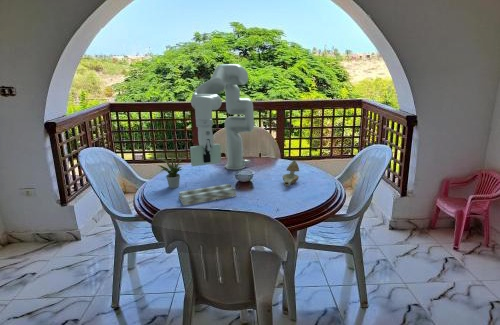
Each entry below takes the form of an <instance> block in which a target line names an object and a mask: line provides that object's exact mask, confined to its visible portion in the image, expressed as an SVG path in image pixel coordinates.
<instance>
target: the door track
mask: <svg viewBox="0 0 500 325" xmlns="http://www.w3.org/2000/svg"><path fill="white" fill-rule="evenodd" d="M232 196H234V197H237V193H236V187H232V184H231V183H225V184H219V185H212V186H207V187H200V188H195V189H188V190H181V191H179V192H178V199H179V200H180V202H181V204H182V205H183V206H187V205H194V204H199V203H205V202H210V201H216V199H217V200H221V199H227V197H228V198H233V197H232Z"/></svg>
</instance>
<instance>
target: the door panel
mask: <svg viewBox="0 0 500 325" xmlns="http://www.w3.org/2000/svg"><path fill="white" fill-rule="evenodd" d="M210 149H211V151H210V160H211V162H207V163H204V158H203V154H204V148H203V147H202V146H200V145H193V146H190V147H189V152H190V154H189V155H190V166H191V167H198V166H209V165H214V164H215V165H216V164H222V151H221V144H220V143H214V147H213V148H212V147H211V146H210ZM206 150H207V149H205V151H206Z"/></svg>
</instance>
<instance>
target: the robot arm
mask: <svg viewBox="0 0 500 325" xmlns="http://www.w3.org/2000/svg"><path fill="white" fill-rule="evenodd" d="M248 80H249V73H248V71H247V70H246V68H245V67H244V66H242V65H240V64H237V63H223V64H218V65H217V66H216V67H215V69H214V71H213V73H212V75H211V77H210V79H209V80H207V81H205V82H203V83H202V84H200V85H198V86H197V87H196V88H195V90H194V92H193V93H192V96H191V100H190V104H191V106H192V108H193V109H194V112H195V113H194V114H195V127H196V128H197V138H198V146H202V147H203V148H204V154H203V158H204V163H207V162H211V160H210V151H211V149H210V146H211V147H212V148H213V147H214V144H215V142H214V134H213V125H214V124H213V111H217V110H219V109H220V108H221V106H222V103H223V102H222V98H221V96H220V95H219V94H220V93H222V92H223V91H224V94H225V95H224V96H225V109H226V113H227V114H228V115H229V114H230V115H233V116H228V117H226V118H225V119H224V128H225V129H224V130H225V133H226V153H227V163H226V164H225V168H226V169H227V170H230V171H231V170H232V171H235V170H237V171H238V170H242V169H245V168H246V164H250V163H251V159H244V156H243V155H244V152H243V151H244V149H243V148H244V147H243V144H244V143H243V138H242V136H241V134H240V133H242V134H243V133H244V134H245V133H247V134H248V133H252V132H253V131H254V128H255V127H254V126H255V123H254V122H255V121H254V119H255V116H254V103H253V101H252V99H251V98H245V97H244V98H243V97H242V98H241V92H240V88H239V85H241V86H243V85H246V84H247V83H248ZM234 115H235V116H234ZM237 115H239V116H237ZM240 115H242V116H240ZM205 149H207V150H206V151H205Z"/></svg>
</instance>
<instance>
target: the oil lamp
mask: <svg viewBox="0 0 500 325" xmlns="http://www.w3.org/2000/svg"><path fill="white" fill-rule="evenodd" d="M286 171H287V172H290V173H287V174H283V175H282V181H283V185H284V186H285V187H289V186H290V185H292V184H295V183H297V181H298V179H299V178H300V177H299V175H298V174H296V173H295V172H300V167H299V165H298V163H297V161H296V159H293V161H292V162H290V164H288V166H287V168H286Z"/></svg>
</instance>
